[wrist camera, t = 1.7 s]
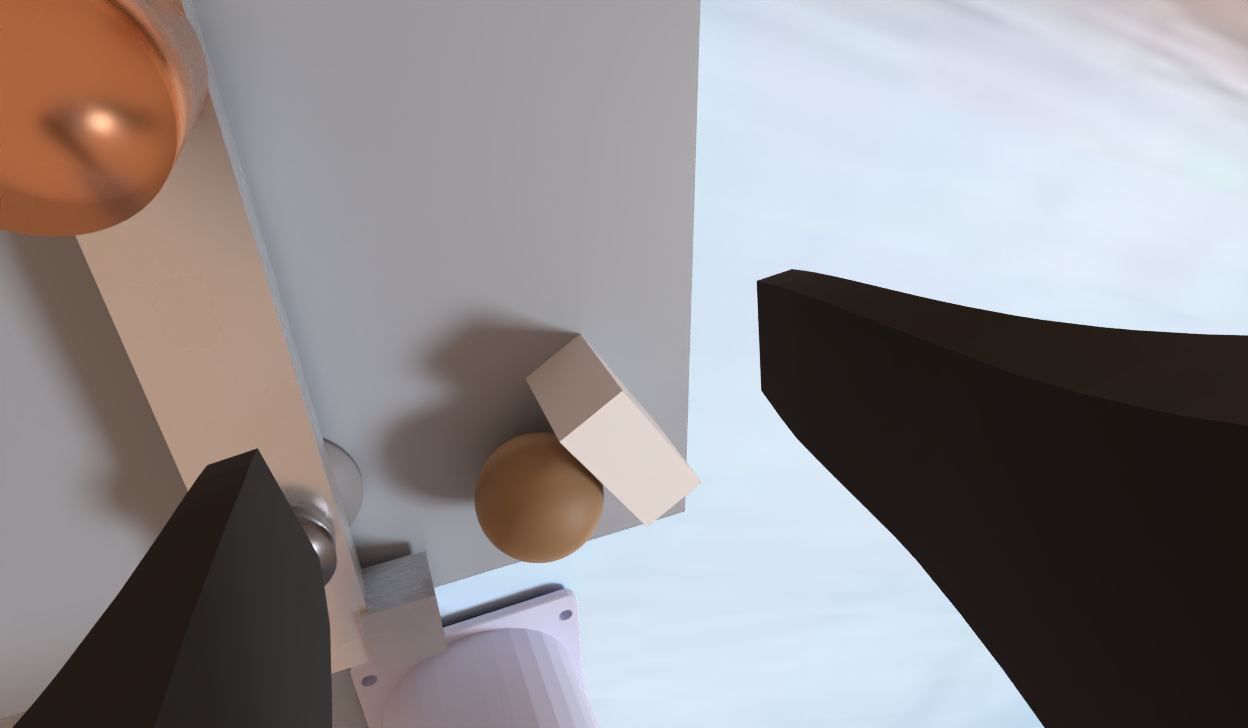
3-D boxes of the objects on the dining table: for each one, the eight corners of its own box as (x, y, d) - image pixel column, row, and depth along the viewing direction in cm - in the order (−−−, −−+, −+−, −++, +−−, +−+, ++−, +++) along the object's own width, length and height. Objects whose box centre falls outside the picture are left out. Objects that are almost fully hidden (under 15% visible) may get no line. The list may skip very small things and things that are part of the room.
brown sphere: (582, 489, 23) (624, 567, 20) (471, 520, 22) (499, 608, 19) (576, 396, 21) (621, 467, 18) (454, 425, 20) (482, 506, 17)
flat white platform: (670, 490, 26) (728, 575, 23) (-109, 718, 19) (-197, 891, 16) (680, -140, 17) (786, -162, 13) (-907, -153, 9) (-1620, -207, 6)
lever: (437, 605, 23) (478, 785, 18) (277, 655, 21) (273, 866, 16) (287, -53, 13) (287, -47, 8) (-19, -44, 12) (-227, -32, 7)
